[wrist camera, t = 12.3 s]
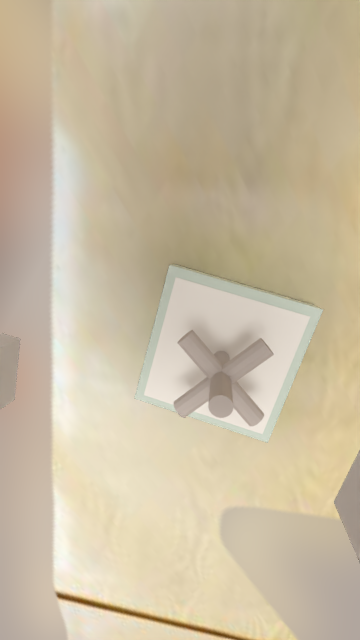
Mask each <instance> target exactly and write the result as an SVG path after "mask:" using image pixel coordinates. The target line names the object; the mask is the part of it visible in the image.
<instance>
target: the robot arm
mask: <svg viewBox="0 0 360 640" xmlns="http://www.w3.org/2000/svg"><path fill="white" fill-rule="evenodd" d="M19 348H20V338H17V337H13V336H10V335H7V334H3V333H2V334H0V409H2V408H4V407H5V406H6V405H8V404H9V403H10V402H12V401H13V400H14V399H15V390H16V380H17V368H18V359H19ZM334 504H335V506H336V509H337V511H338V513H339V516H340V518H341V520H342V523H343V525H344V527H345V530H346V532H347V534H348V537H349V539H350V541H351V544H352V546H353V548H354V550H355V553H356V555H357V557H358V560H359V562H360V450H359V452H358V454H357V456H356V458H355V460H354V462H353V464H352V466H351V468H350V470H349V472H348V474H347V476H346V478H345V480H344V482H343V484H342V486H341V488H340V490H339V492H338V494H337V496H336V498H335V500H334Z"/></svg>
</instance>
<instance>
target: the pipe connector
mask: <svg viewBox="0 0 360 640" xmlns="http://www.w3.org/2000/svg"><path fill="white" fill-rule="evenodd" d="M177 343H178V344H179V345H180V346H181V348H182V349H183V350H184V351H185V352H186V353H187V355H188V356H189V357H190V358H191V359H192V360H193V362H194V363H195V364H196V365H197V366H198V367H199V368H200V370H201V371H202V372H203V373H204V374H205V375H206V378H205V379H204V380H202V381H201V382H200V383H198V384H197V385H195V386H194V387H193V388H191V389H190V390H189V391H187V392H186V393H185V394H183V395H182V396H180V397H179V398H178V399H176V400H175V401H174V408H175V410H176V411H177V413H178V414H179V415H180V416H181V417H184V418H185V417H186V416H188V415H189V414H191V413H192V412H193V411H195V410H196V409H198V408H199V407H201V406H202V405H203V404H205V403H206V402H208V401H209V404H208V408H209V411H210V412H211V414H212V415H214V416H216V417H219V418H224V417H227V416H229V415H230V414H231V413H232V411H233V408H234V409H235V410H236V411H237V412H238V414H239V415H240V416H241V417H242V418H243V419H244V420H245V422H246V423H247V424H248V425H249V426H255V425H257V424H258V423H259V422H260V421H261V420H262V419H263V417H264V413H263V412H262V410H261V409H260V408H259V407H258V406H257V405H256V403H255V402H254V401H253V400H252V399H251V398H250V396H249V395H248V394H247V393H246V392H245V391H244V389H243V388H242V387H241V386H240V385H239V384H238V382H237V380H239V379H240V378H242V377H243V376H244V375H246V374H247V373H249V372H250V371H252V370H253V369H254V368H256V367H257V366H259V365H260V364H261V363H263V362H264V361H266V360H267V359H269V358H270V357H271V356H273V355H274V353H273V352H272V351H271V349H270V348H269V347H268V345H267V344H266V343H265V342H264V340H263V339H262V338H260V339H258V340H257V341H255V342H254V343H253V344H251V345H250V346H249V347H247V348H246V349H245V350H243V351H242V352H240V353H239V354H238V355H236V356H235V357H234V358H232V359H231V360H230V357H229V355H228V354H227V353H226V352H225V351H217V352H216V353H215V354H213V353H212V352H211V351H210V350H209V348H208V347H207V346H206V345H205V344H204V343H203V341H202V340H201V339H200V338H199V337H198V336H197V334H196V333H195V332H194V331H193V330H191V331H189V332H188V333H186V334H185V335H184V336H183V337H182V338H181V339H180V340H179V341H178V342H177Z"/></svg>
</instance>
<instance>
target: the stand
mask: <svg viewBox="0 0 360 640" xmlns="http://www.w3.org/2000/svg"><path fill="white" fill-rule="evenodd" d="M322 312H323V309H321V308H319V307H317V306H315V305H313V304H310V303H306V302H303V301H299V300H296V299H292V298H289V297H286V296H282V295H279V294H275V293H272V292H268V291H265V290H262V289H258V288H255V287H251V286H248V285H244V284H241V283H238V282H234V281H231V280H227V279H224V278H220V277H217V276H214V275H210V274H207V273H203V272H200V271H196V270H193V269H190V268H186V267H183V266H179V265H176V264H171V265H169V268H168V272H167V276H166V280H165V284H164V288H163V291H162V295H161V299H160V303H159V307H158V310H157V314H156V318H155V322H154V326H153V330H152V333H151V337H150V341H149V345H148V349H147V352H146V356H145V360H144V364H143V368H142V372H141V375H140V379H139V383H138V387H137V391H136V394H135V398H134V399H137V400H140V401H143V402H146V403H149V404H152V405H155V406H158V407H161V408H164V409H167V410H170V411H173V412H176V413H177V411H176V410H175V408H174V401H175V400H176V399H178V398H179V397H180V396H182V395H183V394H185V393H186V392H187V391H189V390H190V389H191V388H193V387H194V386H195V385H197V384H198V383H200V382H201V381H202V380H204V379H205V378H206V375H205V374H204V373H203V372H202V371H201V370H200V368H199V367H198V366H197V365H196V364H195V363H194V362H193V360H192V359H191V358H190V357H189V356H188V355H187V353H186V352H185V351H184V350H183V349H182V348H181V346H180V345H179V344H178V343H177V342H178V341H179V340H180V339H181V338H182V337H183V336H184V335H185V334H186V333H188V332H189V331H191V330H193V331H194V332H195V333H196V334H197V336H198V337H199V338H200V339H201V340H202V341H203V343H204V344H205V345H206V346H207V347H208V348H209V350H210V351H211V352H212V353H213V354H215V353H216V352H217V351H225V352H226V353H227V354H228V355H229V357H230V360H231V359H232V358H234V357H235V356H236V355H238V354H239V353H240V352H242V351H243V350H245V349H246V348H247V347H249V346H250V345H251V344H253V343H254V342H255V341H257V340H258V339H260V338H262V339H263V340H264V342H265V343H266V344H267V345H268V347H269V348H270V349H271V351H272V352H273V353H274V355H273V356H271V357H270V358H269V359H267V360H266V361H264V362H263V363H261V364H260V365H259V366H257V367H256V368H254V369H253V370H252V371H250V372H249V373H247V374H246V375H244V376H243V377H242V378H240V379H239V380H237V382H238V384H239V385H240V386H241V387H242V388H243V389H244V391H245V392H246V393H247V394H248V395H249V396H250V398H251V399H252V400H253V401H254V402H255V403H256V405H257V406H258V407H259V408H260V409H261V410H262V412H263V413H264V417H263V419H262V420H261V421H260V422H259V423H258V424H257V425H255V426H249V425H248V424H247V423H246V422H245V420H244V419H243V418H242V417H241V416H240V415H239V414H238V412H237V411H236V410H235V409H234V408H233V411H232V413H231V414H230V415H229V416H227V417H224V418H219V417H216V416H214V415H212V414H211V412H210V411H209V408H208V404H209V401H208V402H206V403H205V404H203V405H202V406H201V407H199V408H198V409H196V410H195V411H193V412H192V413H191V414H189V415H188V417H191V418H194V419H197V420H200V421H203V422H206V423H209V424H212V425H215V426H218V427H221V428H225V429H228V430H231V431H234V432H237V433H240V434H243V435H246V436H249V437H252V438H255V439H258V440H261V441H264V442H267V443H268V441H269V439H270V436H271V434H272V431H273V429H274V427H275V424H276V422H277V419H278V417H279V415H280V412H281V410H282V407H283V405H284V403H285V400H286V398H287V395H288V393H289V391H290V388H291V386H292V383H293V381H294V379H295V376H296V374H297V371H298V369H299V367H300V364H301V362H302V359H303V357H304V355H305V352H306V350H307V347H308V345H309V343H310V340H311V338H312V335H313V333H314V331H315V328H316V326H317V324H318V321H319V319H320V316H321V314H322Z"/></svg>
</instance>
